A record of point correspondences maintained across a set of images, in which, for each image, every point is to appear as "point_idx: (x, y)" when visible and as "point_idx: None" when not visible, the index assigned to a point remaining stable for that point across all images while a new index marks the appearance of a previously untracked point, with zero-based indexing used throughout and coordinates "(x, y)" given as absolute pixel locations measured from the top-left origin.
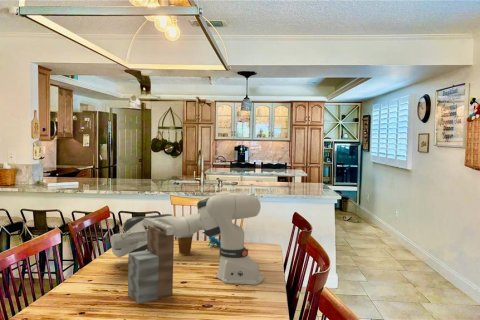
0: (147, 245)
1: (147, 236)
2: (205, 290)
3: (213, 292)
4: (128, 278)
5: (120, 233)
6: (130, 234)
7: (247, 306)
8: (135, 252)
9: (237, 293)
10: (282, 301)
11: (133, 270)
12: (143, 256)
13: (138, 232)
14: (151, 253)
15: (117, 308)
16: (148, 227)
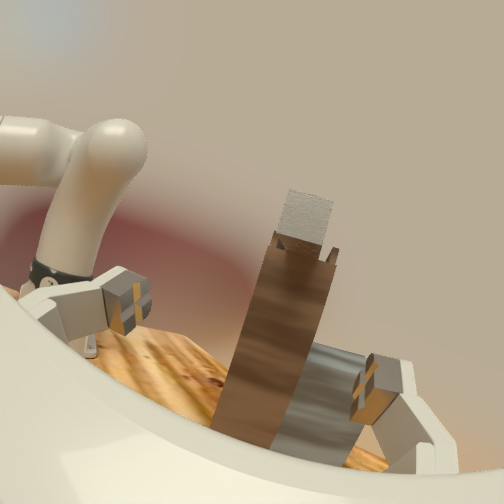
0: (313, 338)
1: (326, 299)
2: (153, 385)
3: (155, 376)
4: (342, 462)
5: (485, 476)
6: (359, 381)
7: (183, 351)
8: (358, 373)
9: (141, 352)
10: (145, 327)
11: None
12: (345, 356)
13: (102, 391)
14: (310, 349)
15: (366, 468)
16: (336, 257)
